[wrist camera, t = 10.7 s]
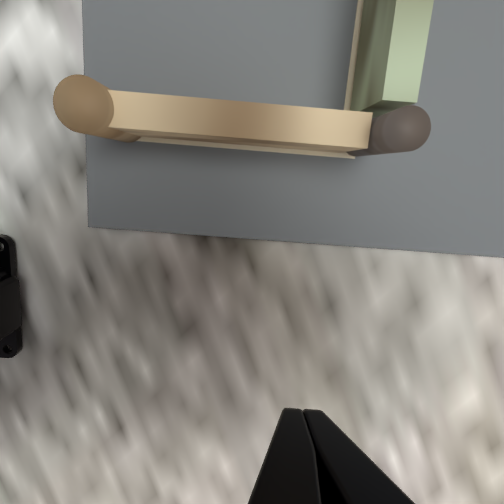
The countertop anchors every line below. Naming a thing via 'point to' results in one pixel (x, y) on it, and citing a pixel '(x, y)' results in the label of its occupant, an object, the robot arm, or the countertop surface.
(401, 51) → the folding panel
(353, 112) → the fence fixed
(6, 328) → the robot arm
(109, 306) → the countertop surface
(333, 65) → the card
